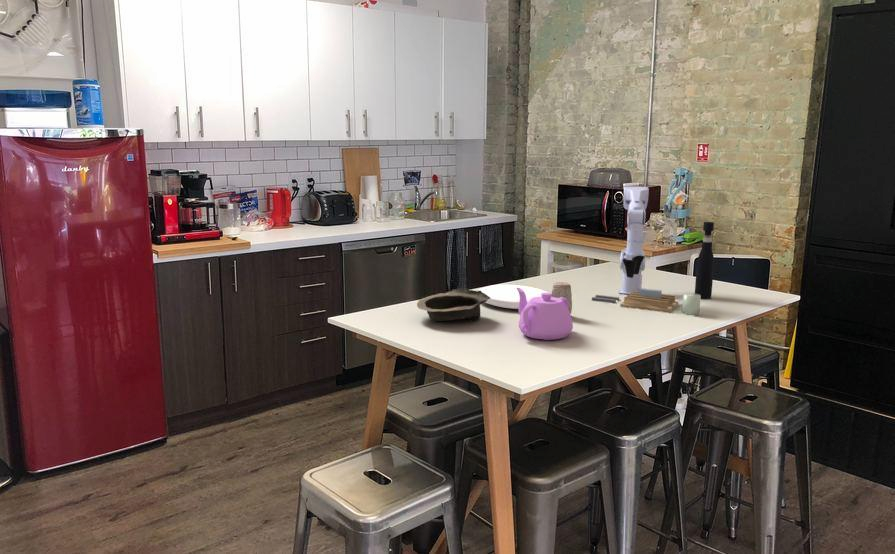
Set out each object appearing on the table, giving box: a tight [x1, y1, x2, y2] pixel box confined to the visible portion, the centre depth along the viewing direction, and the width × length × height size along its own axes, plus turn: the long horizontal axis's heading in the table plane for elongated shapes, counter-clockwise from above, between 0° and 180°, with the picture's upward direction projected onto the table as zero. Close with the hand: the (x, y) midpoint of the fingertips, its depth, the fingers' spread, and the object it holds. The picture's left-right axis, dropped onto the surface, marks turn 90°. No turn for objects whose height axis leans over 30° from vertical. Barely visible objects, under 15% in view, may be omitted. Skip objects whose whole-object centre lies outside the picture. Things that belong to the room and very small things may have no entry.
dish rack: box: [619, 291, 679, 313], centre depth 272 cm, size 15×18×4 cm
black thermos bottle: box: [694, 221, 715, 300], centre depth 284 cm, size 6×6×30 cm
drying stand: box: [591, 294, 620, 304], centre depth 281 cm, size 6×9×1 cm
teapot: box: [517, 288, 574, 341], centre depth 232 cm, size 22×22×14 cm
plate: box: [477, 284, 549, 310], centre depth 273 cm, size 28×6×27 cm
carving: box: [551, 281, 573, 315], centre depth 254 cm, size 6×8×12 cm
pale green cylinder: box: [681, 292, 702, 316], centre depth 260 cm, size 6×6×7 cm
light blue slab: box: [639, 287, 663, 299], centre depth 272 cm, size 2×8×5 cm, turn 65°
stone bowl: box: [416, 288, 490, 322], centre depth 249 cm, size 25×25×9 cm
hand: (632, 275), depth 278 cm, fingers open, 7 cm apart
